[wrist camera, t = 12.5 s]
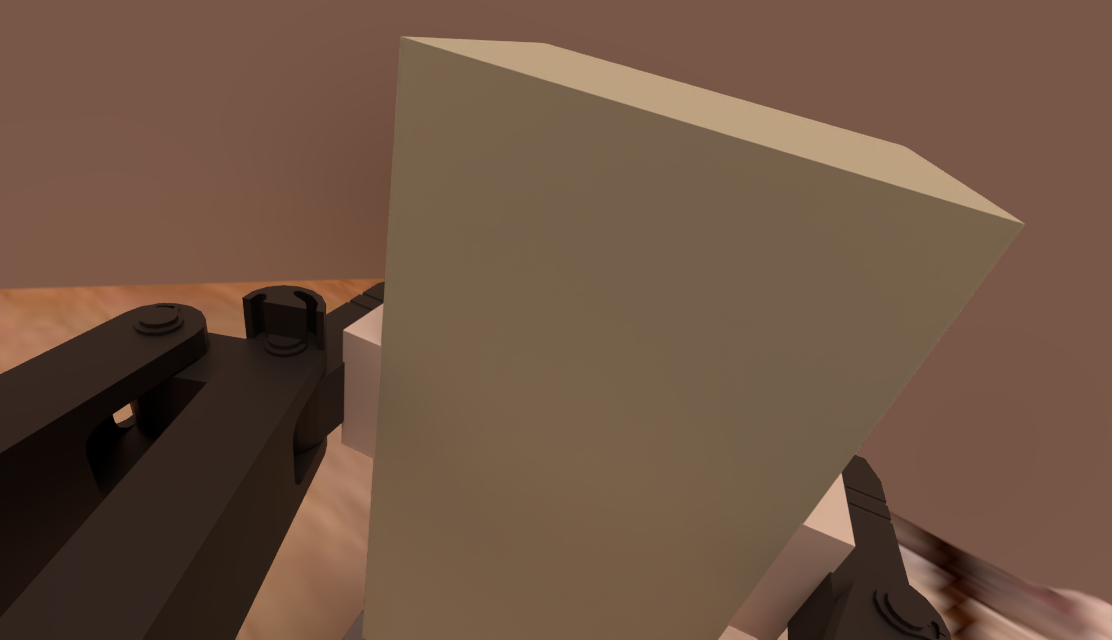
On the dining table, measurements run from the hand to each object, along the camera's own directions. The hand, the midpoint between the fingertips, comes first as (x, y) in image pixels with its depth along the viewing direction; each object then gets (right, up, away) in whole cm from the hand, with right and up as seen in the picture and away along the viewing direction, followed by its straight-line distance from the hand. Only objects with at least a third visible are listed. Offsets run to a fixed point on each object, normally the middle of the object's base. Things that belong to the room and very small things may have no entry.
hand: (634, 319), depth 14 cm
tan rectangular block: (-3, -8, +1) cm, 9 cm away
